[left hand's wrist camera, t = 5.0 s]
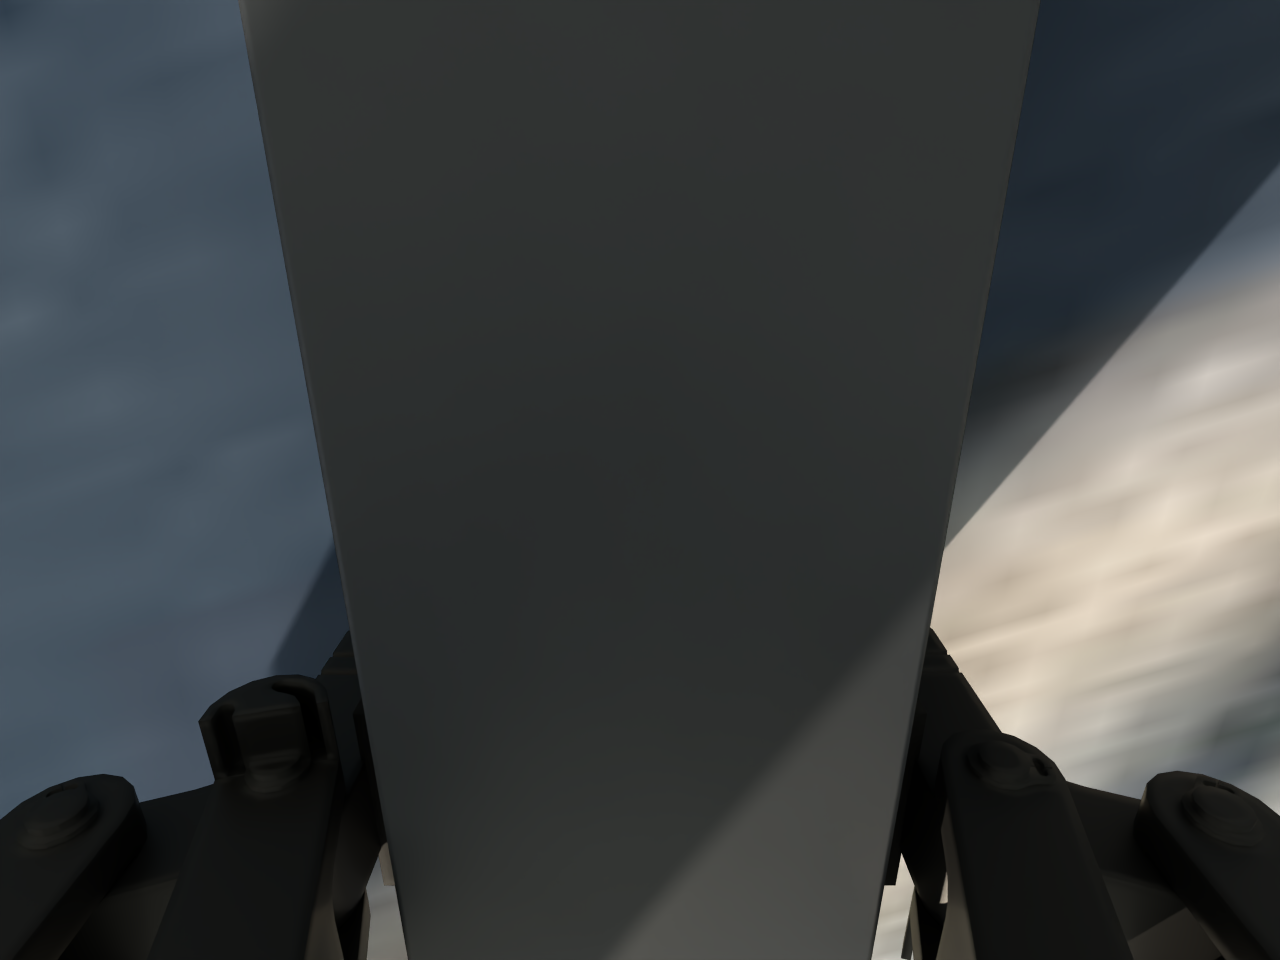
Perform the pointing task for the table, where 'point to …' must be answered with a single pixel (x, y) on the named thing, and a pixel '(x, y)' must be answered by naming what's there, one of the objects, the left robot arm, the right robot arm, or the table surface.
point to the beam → (639, 437)
